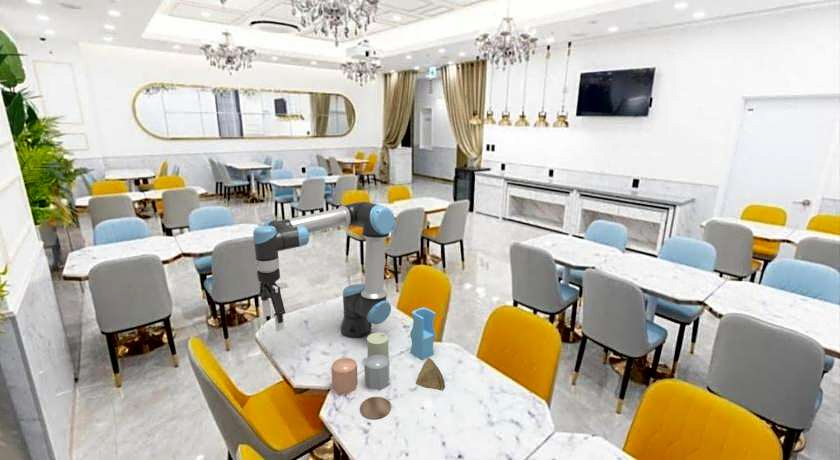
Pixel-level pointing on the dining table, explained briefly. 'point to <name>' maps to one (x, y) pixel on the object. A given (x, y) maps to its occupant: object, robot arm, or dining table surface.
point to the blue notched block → (422, 333)
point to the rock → (430, 376)
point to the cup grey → (377, 372)
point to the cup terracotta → (344, 375)
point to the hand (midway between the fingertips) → (273, 322)
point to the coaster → (375, 408)
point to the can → (378, 344)
